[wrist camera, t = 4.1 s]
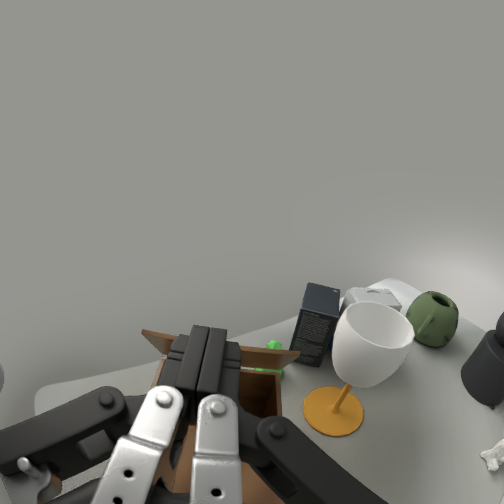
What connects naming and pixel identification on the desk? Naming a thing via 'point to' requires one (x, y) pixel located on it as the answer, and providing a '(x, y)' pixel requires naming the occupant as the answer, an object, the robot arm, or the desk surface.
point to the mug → (433, 318)
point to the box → (315, 323)
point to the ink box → (367, 295)
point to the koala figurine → (494, 456)
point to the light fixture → (487, 368)
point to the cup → (359, 364)
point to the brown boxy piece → (255, 403)
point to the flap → (250, 355)
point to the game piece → (272, 345)
